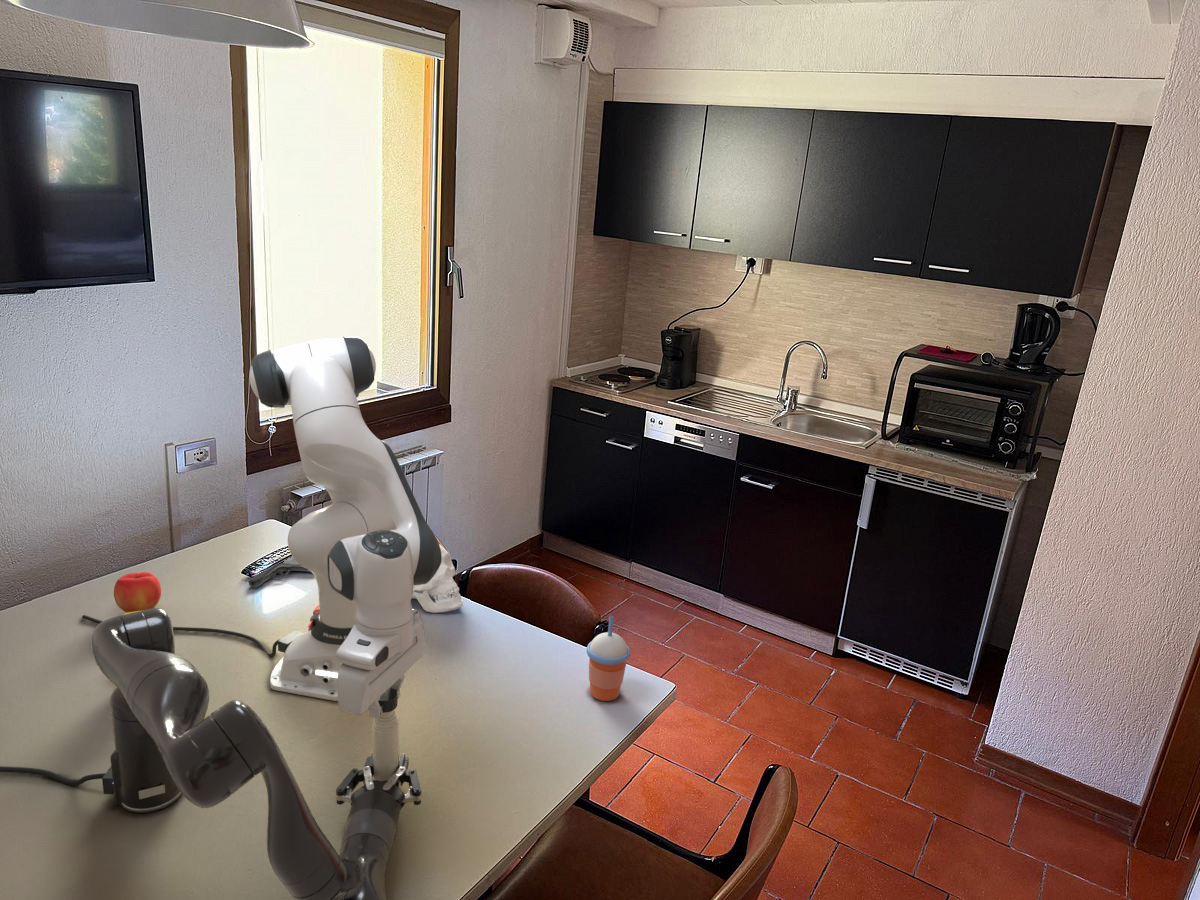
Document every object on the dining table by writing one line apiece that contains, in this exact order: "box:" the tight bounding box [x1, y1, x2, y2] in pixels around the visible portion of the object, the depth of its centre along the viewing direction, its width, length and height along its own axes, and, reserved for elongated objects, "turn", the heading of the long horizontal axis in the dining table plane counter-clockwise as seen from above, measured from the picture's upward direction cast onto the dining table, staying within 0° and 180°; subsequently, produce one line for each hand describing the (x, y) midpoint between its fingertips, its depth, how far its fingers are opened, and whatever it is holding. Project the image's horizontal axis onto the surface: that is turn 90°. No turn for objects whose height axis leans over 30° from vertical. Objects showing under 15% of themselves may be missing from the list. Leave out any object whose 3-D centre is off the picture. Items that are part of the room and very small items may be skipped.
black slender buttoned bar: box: [248, 557, 312, 588], centre depth 220 cm, size 2×18×12 cm
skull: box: [411, 543, 465, 614], centre depth 211 cm, size 13×22×16 cm, turn 67°
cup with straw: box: [586, 615, 631, 702], centre depth 178 cm, size 9×9×18 cm
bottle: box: [371, 709, 400, 781], centre depth 142 cm, size 4×4×20 cm
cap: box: [378, 688, 399, 713], centre depth 140 cm, size 4×4×2 cm
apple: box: [113, 571, 162, 613], centre depth 195 cm, size 10×10×10 cm
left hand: (388, 758), depth 146 cm, fingers closed on bottle, 4 cm apart
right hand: (384, 707), depth 140 cm, fingers closed on cap, 4 cm apart
